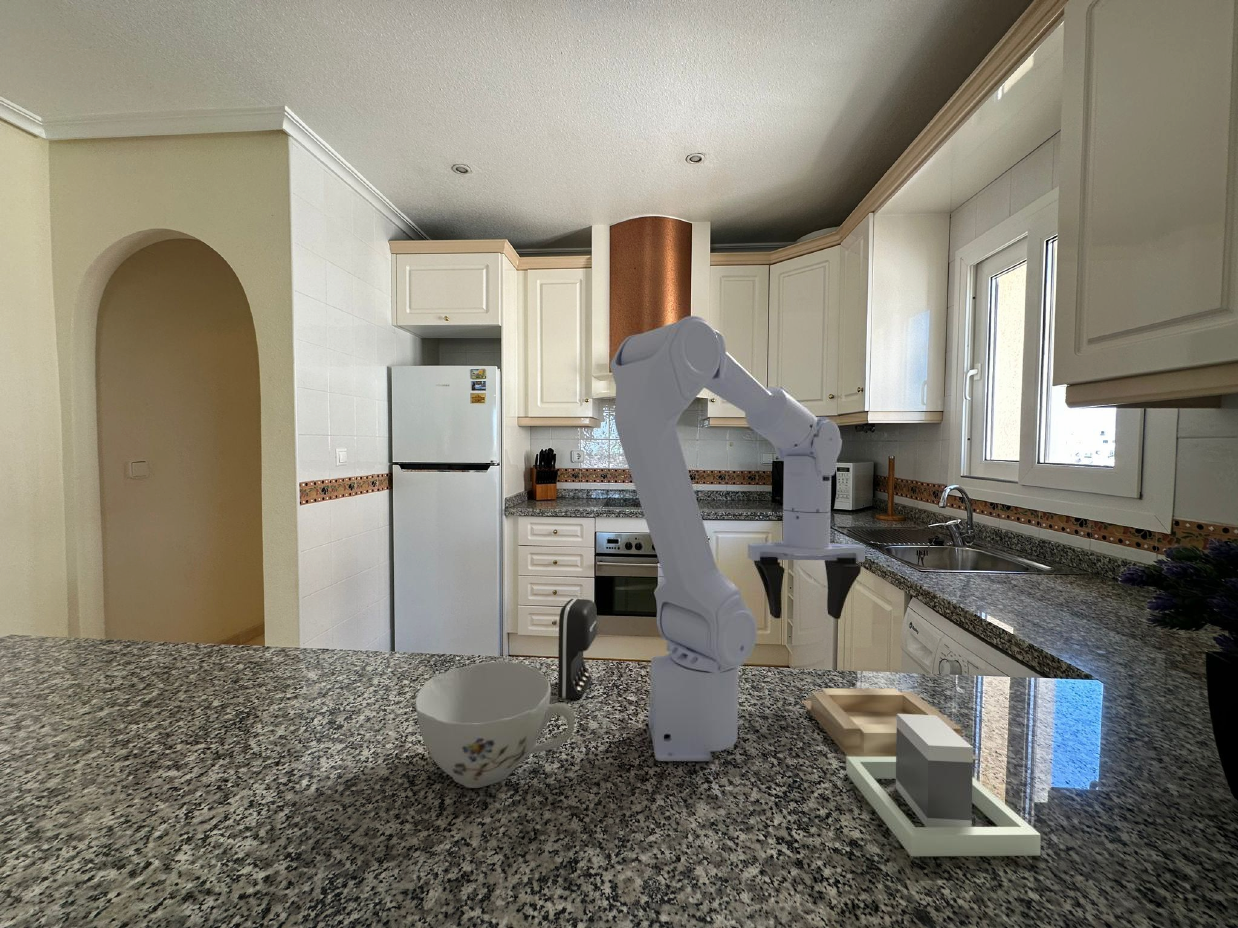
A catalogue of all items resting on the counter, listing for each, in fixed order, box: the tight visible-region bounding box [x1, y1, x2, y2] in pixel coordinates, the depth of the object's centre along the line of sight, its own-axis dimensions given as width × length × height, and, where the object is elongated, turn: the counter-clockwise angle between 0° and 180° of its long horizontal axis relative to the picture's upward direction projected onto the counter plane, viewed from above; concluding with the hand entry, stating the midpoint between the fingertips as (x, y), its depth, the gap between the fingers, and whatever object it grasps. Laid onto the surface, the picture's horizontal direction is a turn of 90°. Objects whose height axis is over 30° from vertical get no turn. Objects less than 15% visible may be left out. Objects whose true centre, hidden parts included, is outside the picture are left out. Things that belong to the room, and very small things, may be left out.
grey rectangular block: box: [895, 714, 974, 827], centre depth 42 cm, size 3×5×7 cm
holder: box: [801, 687, 980, 761], centre depth 55 cm, size 13×12×3 cm
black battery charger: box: [557, 597, 598, 700], centre depth 65 cm, size 7×4×11 cm, turn 171°
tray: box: [845, 756, 1042, 857], centre depth 42 cm, size 10×10×2 cm
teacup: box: [414, 661, 576, 789], centre depth 47 cm, size 15×12×8 cm
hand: (804, 616), depth 63 cm, fingers open, 7 cm apart
